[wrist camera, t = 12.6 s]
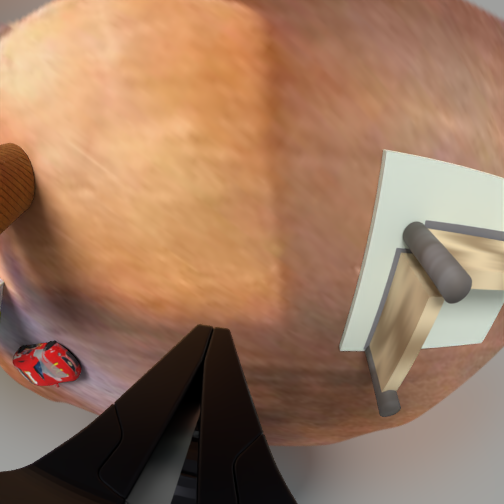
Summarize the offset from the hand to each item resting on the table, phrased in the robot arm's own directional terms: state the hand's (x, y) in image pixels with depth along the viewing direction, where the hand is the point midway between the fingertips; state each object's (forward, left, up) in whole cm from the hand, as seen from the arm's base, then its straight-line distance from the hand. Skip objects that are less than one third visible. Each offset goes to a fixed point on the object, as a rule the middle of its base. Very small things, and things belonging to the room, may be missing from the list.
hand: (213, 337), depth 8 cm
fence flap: (-1, -16, -11) cm, 20 cm away
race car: (-21, +25, -12) cm, 35 cm away
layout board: (-4, -16, -12) cm, 20 cm away
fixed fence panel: (-7, -11, -12) cm, 18 cm away
